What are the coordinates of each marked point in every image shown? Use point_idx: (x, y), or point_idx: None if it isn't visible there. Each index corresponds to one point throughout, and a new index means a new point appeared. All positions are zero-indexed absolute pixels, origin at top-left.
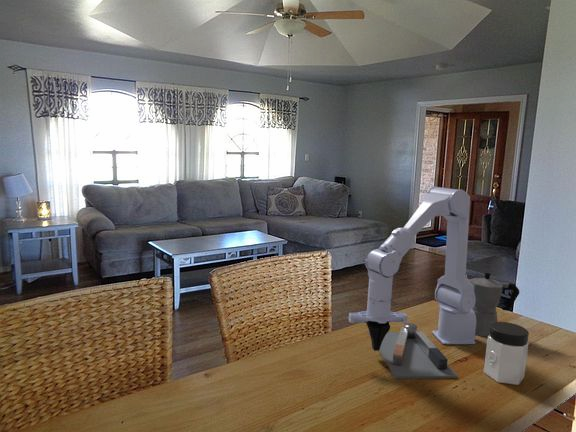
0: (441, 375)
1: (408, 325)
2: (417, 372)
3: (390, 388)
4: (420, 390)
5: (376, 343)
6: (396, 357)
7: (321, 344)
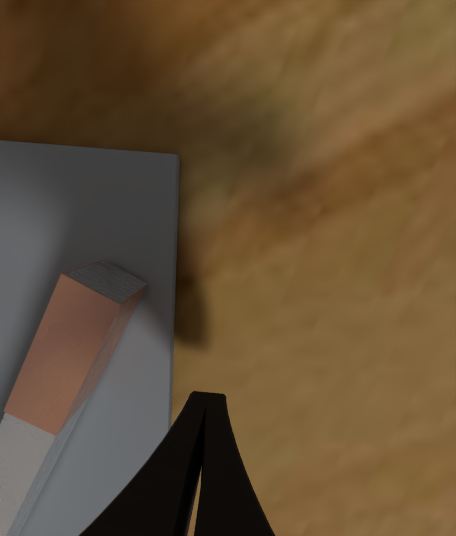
0: None
1: None
2: (31, 184)
3: (247, 47)
4: (75, 6)
5: (213, 431)
6: (108, 285)
7: (427, 510)
